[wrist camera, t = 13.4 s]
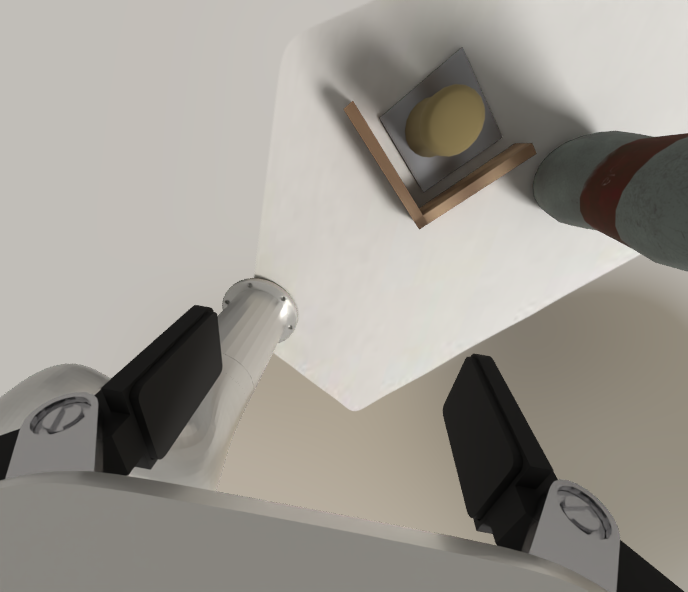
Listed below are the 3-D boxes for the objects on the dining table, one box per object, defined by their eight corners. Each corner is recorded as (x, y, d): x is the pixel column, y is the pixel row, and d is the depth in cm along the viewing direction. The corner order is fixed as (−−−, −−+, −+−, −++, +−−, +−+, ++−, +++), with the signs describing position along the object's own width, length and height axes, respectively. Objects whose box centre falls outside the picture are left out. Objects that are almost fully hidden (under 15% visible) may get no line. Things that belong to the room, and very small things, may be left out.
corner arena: (415, 221, 37) (419, 229, 34) (347, 113, 32) (343, 109, 29) (519, 152, 32) (536, 153, 29) (458, 11, 27) (470, -8, 24)
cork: (404, 160, 33) (416, 166, 24) (405, 99, 31) (418, 78, 21) (456, 154, 33) (490, 159, 23) (462, 92, 30) (503, 67, 20)
